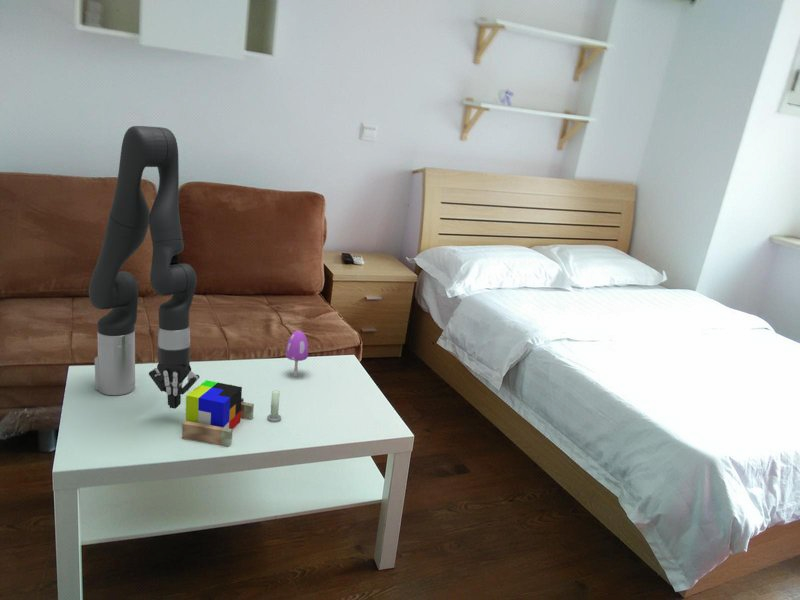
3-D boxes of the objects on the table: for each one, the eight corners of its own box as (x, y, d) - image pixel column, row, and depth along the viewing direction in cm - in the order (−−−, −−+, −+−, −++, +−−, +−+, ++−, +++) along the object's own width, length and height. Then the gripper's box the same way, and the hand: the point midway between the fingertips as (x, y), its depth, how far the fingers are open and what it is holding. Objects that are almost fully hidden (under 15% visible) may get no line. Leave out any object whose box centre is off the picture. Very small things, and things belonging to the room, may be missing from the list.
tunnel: (182, 438, 152) (182, 423, 151) (219, 401, 173) (219, 387, 172) (229, 446, 151) (229, 431, 150) (260, 408, 172) (261, 394, 171)
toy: (285, 371, 197) (288, 326, 193) (306, 372, 198) (309, 328, 194) (283, 379, 191) (286, 334, 187) (305, 381, 192) (309, 335, 188)
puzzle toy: (222, 439, 154) (223, 403, 151) (185, 431, 155) (186, 395, 153) (240, 421, 163) (241, 387, 161) (205, 414, 165) (206, 380, 162)
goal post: (265, 420, 165) (266, 393, 163) (269, 415, 169) (271, 388, 166) (278, 423, 165) (280, 395, 162) (282, 417, 168) (284, 390, 166)
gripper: (140, 344, 152) (142, 409, 156) (192, 352, 150) (192, 417, 155) (156, 335, 159) (157, 397, 163) (206, 342, 157) (205, 404, 162)
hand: (174, 407), depth 159 cm, fingers closed
